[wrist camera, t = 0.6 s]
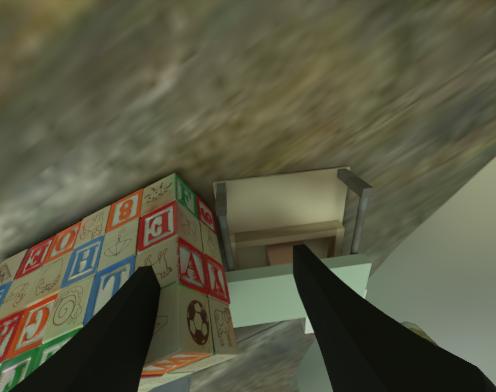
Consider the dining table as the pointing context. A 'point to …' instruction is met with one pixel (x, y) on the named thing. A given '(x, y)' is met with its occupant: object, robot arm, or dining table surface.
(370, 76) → the dining table surface
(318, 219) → the grey frame
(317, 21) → the dining table surface
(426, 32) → the dining table surface
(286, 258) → the block
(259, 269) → the lid
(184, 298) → the stack of blocks
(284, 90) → the dining table surface
